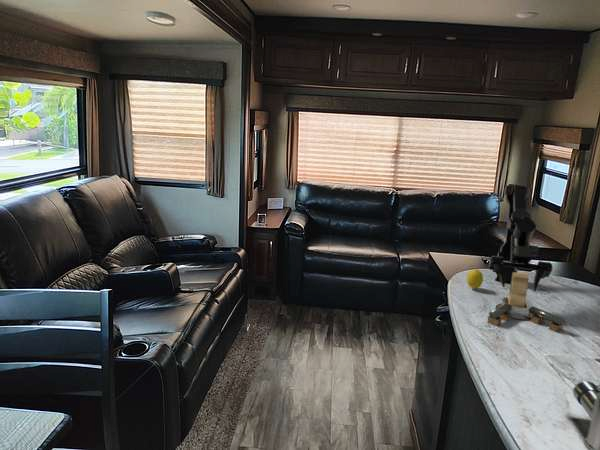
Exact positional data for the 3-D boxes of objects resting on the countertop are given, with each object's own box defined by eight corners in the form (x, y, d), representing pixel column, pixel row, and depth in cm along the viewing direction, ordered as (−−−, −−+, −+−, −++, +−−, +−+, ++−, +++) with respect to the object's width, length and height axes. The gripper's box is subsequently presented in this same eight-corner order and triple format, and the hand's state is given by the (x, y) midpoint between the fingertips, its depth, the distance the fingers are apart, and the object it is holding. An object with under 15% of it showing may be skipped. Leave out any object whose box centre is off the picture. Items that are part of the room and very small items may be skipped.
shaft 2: (526, 319, 145) (529, 307, 144) (533, 317, 146) (535, 305, 145) (557, 332, 136) (559, 319, 135) (563, 330, 138) (565, 317, 137)
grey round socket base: (494, 302, 158) (495, 294, 157) (531, 308, 154) (533, 299, 153) (496, 316, 146) (498, 307, 146) (537, 322, 143) (539, 313, 142)
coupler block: (506, 306, 153) (512, 271, 150) (521, 308, 151) (527, 273, 148) (508, 311, 148) (513, 276, 146) (523, 314, 147) (529, 278, 144)
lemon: (479, 286, 173) (481, 267, 171) (483, 292, 167) (486, 271, 166) (464, 285, 173) (466, 266, 171) (468, 291, 168) (470, 270, 166)
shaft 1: (502, 314, 148) (504, 302, 147) (511, 318, 145) (513, 305, 144) (486, 322, 142) (488, 309, 141) (496, 326, 139) (498, 313, 138)
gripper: (494, 232, 151) (491, 273, 143) (556, 239, 145) (557, 282, 137) (489, 249, 160) (487, 288, 152) (548, 255, 154) (548, 297, 146)
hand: (519, 288), depth 147 cm, fingers open, 9 cm apart
